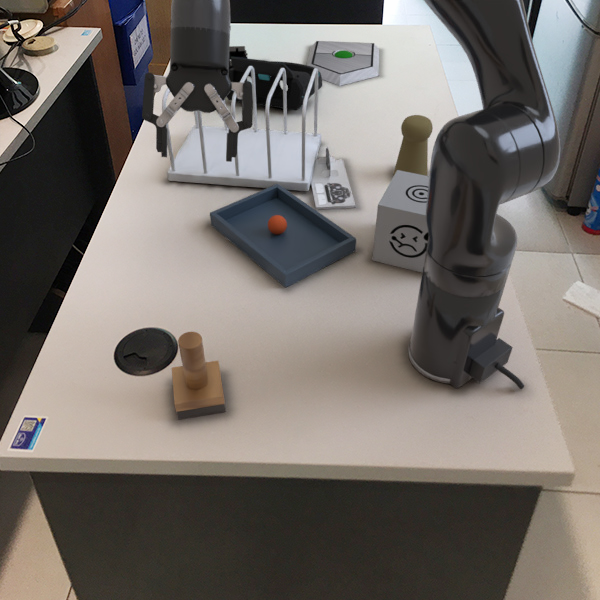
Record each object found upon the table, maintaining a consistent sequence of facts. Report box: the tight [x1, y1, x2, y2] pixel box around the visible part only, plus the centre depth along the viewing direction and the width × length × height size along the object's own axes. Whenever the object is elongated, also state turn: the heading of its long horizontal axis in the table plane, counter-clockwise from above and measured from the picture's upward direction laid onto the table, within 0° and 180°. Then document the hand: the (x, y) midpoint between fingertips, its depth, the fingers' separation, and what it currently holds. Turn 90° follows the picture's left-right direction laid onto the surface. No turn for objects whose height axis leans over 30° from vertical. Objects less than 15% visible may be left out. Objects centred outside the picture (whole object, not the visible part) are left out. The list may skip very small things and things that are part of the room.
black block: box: [229, 45, 265, 69], centre depth 146 cm, size 12×7×5 cm, turn 93°
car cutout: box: [310, 146, 356, 211], centre depth 109 cm, size 15×7×4 cm, turn 5°
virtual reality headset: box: [226, 56, 323, 111], centre depth 134 cm, size 19×22×10 cm
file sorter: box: [161, 66, 322, 192], centre depth 110 cm, size 25×17×16 cm
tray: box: [209, 184, 357, 288], centre depth 98 cm, size 20×14×2 cm
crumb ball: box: [268, 215, 287, 235], centre depth 98 cm, size 3×3×3 cm
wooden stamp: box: [171, 331, 227, 420], centre depth 72 cm, size 6×6×10 cm
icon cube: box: [371, 170, 429, 274], centre depth 93 cm, size 10×10×10 cm
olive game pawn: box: [393, 114, 433, 177], centre depth 108 cm, size 6×6×11 cm
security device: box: [305, 40, 380, 87], centre depth 147 cm, size 17×22×2 cm
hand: (197, 159), depth 84 cm, fingers open, 8 cm apart
